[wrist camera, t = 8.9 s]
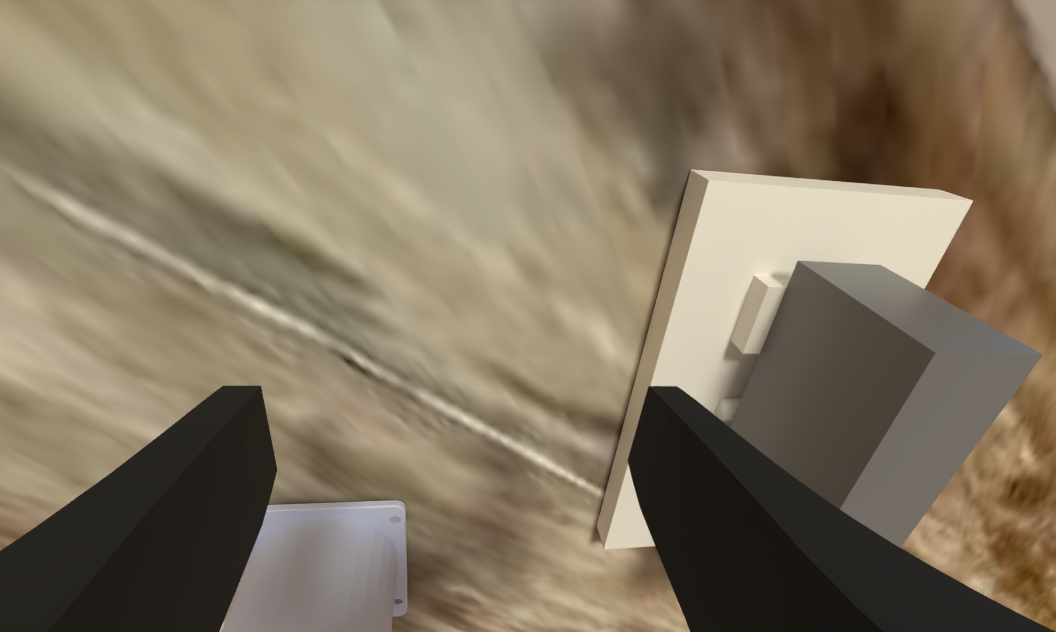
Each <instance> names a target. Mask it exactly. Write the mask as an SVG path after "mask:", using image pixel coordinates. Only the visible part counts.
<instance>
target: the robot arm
mask: <svg viewBox="0 0 1056 632" xmlns="http://www.w3.org/2000/svg"><path fill="white" fill-rule="evenodd" d="M627 461H628V465H629V469H630V473H631V477H632V481H633V485H634V488H635V492H636V495H637V499H638V502H639V506H640V509H641V512H642V514H643V517H644V519H645V522H646V524H647V527H648V529H649V532H650V534H651V537H652V539H653V541H654V544H655V546H656V549H657V551H658V554H659V556H660V558H661V561H662V563H663V566H664V568H665V571H666V573H667V575H668V578H669V580H670V583H671V585H672V587H673V590H674V592H675V595H676V597H677V599H678V602H679V604H680V607H681V609H682V612H683V614H684V616H685V619H686V621H687V624H688V627H689V629H690V632H1055V631H1053V630H1051V629H1049V628H1047V627H1045V626H1043V625H1041V624H1039V623H1037V622H1035V621H1033V620H1031V619H1028V618H1026V617H1024V616H1022V615H1020V614H1019V613H1017V612H1015V611H1013V610H1011V609H1009V608H1007V607H1005V606H1003V605H1001V604H999V603H998V602H996V601H994V600H992V599H990V598H988V597H986V596H984V595H982V594H980V593H979V592H977V591H975V590H973V589H971V588H969V587H968V586H966V585H964V584H962V583H961V582H959V581H957V580H955V579H953V578H952V577H950V576H948V575H946V574H944V573H943V572H941V571H939V570H937V569H936V568H934V567H932V566H930V565H928V564H927V563H925V562H923V561H921V560H920V559H918V558H916V557H915V556H913V555H911V554H910V553H908V552H906V551H905V550H903V549H901V548H899V547H898V546H896V545H895V544H893V543H891V542H890V541H888V540H887V539H885V538H883V537H882V536H880V535H879V534H877V533H876V532H874V531H872V530H871V529H869V528H868V527H866V526H865V525H863V524H861V523H860V522H858V521H857V520H855V519H853V518H852V517H850V516H849V515H847V514H846V513H844V512H843V511H841V510H840V509H838V508H837V507H835V506H834V505H833V504H831V503H830V502H828V501H827V500H825V499H824V498H823V497H821V496H820V495H818V494H817V493H816V492H814V491H813V490H811V489H810V488H809V487H807V486H806V485H804V484H803V483H802V482H800V481H799V480H797V479H796V478H795V477H793V476H792V475H791V474H789V473H788V472H787V471H785V470H784V469H783V468H781V467H780V466H779V465H777V464H776V463H775V462H773V461H772V460H771V459H769V458H768V457H767V456H765V455H764V454H763V453H762V452H760V451H759V450H758V449H757V448H755V447H754V446H753V445H751V444H750V443H749V442H748V441H746V440H745V439H744V438H743V437H741V436H740V435H739V434H738V433H736V432H735V431H734V430H733V429H731V428H730V427H729V426H728V425H726V424H725V423H724V422H723V421H721V420H720V419H719V418H718V417H716V416H715V415H714V414H713V413H711V412H710V411H709V410H708V409H706V408H705V407H704V406H703V405H701V404H700V403H699V402H698V401H696V400H695V399H694V398H693V397H691V396H690V395H689V394H687V393H686V392H685V391H683V390H682V389H680V388H679V387H677V386H648V390H647V393H646V397H645V400H644V404H643V407H642V411H641V414H640V418H639V421H638V425H637V429H636V432H635V436H634V439H633V443H632V446H631V450H630V453H629V457H628V460H627ZM276 472H277V466H276V461H275V456H274V451H273V446H272V441H271V435H270V430H269V425H268V420H267V415H266V410H265V405H264V399H263V394H262V389H261V386H222V387H221V388H220V389H218V390H217V391H216V392H214V393H213V394H212V395H210V396H209V397H208V398H206V399H205V400H204V401H203V402H201V403H200V404H199V405H197V406H196V407H195V408H194V409H192V410H191V411H190V412H189V413H187V414H186V415H185V416H184V417H182V418H181V419H180V420H179V421H177V422H176V423H175V424H174V425H172V426H171V427H170V428H169V429H167V430H166V431H165V432H164V433H162V434H161V435H160V436H158V437H157V438H156V439H155V440H153V441H152V442H151V443H149V444H148V445H147V446H145V447H144V448H143V449H142V450H140V451H139V452H138V453H136V454H135V455H134V456H133V457H131V458H130V459H129V460H127V461H126V462H125V463H123V464H122V465H121V466H120V467H118V468H117V469H116V470H114V471H113V472H112V473H110V474H109V475H108V476H106V477H105V478H104V479H102V480H101V481H99V482H98V483H97V484H95V485H94V486H92V487H91V488H90V489H88V490H87V491H85V492H84V493H83V494H81V495H80V496H78V497H77V498H76V499H74V500H73V501H71V502H70V503H69V504H67V505H66V506H64V507H63V508H62V509H60V510H59V511H58V512H56V513H55V514H53V515H52V516H51V517H49V518H48V519H46V520H45V521H44V522H42V523H41V524H39V525H38V526H37V527H35V528H34V529H32V530H31V531H29V532H28V533H26V534H25V535H23V536H22V537H20V538H19V539H18V540H16V541H15V542H13V543H12V544H10V545H9V546H7V547H5V548H4V549H2V550H1V551H0V632H219V631H220V628H221V626H222V623H223V621H224V618H225V616H226V613H227V611H228V609H229V606H230V604H231V601H232V599H233V596H234V594H235V592H236V589H237V587H238V584H239V582H240V579H241V577H242V579H241V582H240V584H239V587H238V590H237V592H236V595H235V598H234V600H233V603H232V606H231V608H230V611H229V614H228V616H227V619H226V622H225V624H224V627H223V630H222V632H391V631H392V621H393V617H398V616H402V615H404V614H406V613H407V609H408V592H407V537H406V505H405V504H404V503H403V502H402V501H399V500H387V501H360V502H334V503H307V504H281V505H268V503H269V500H270V496H271V492H272V488H273V484H274V480H275V476H276ZM395 516H397V517H395ZM244 570H245V571H244ZM243 572H244V574H243ZM242 575H243V576H242Z"/></svg>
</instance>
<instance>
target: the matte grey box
mask: <svg viewBox="0 0 1056 632" xmlns="http://www.w3.org/2000/svg"><path fill="white" fill-rule="evenodd" d="M1042 356H1043V354H1041V353H1039V352H1037V351H1035V350H1034V349H1032V348H1030V347H1028V346H1026V345H1025V344H1023V343H1021V342H1019V341H1017V340H1015V339H1014V338H1012V337H1010V336H1008V335H1006V334H1005V333H1003V332H1001V331H999V330H997V329H996V328H994V327H992V326H990V325H988V324H986V323H985V322H983V321H981V320H979V319H977V318H976V317H974V316H972V315H970V314H968V313H967V312H965V311H963V310H961V309H959V308H958V307H956V306H954V305H952V304H950V303H948V302H947V301H945V300H943V299H941V298H939V297H938V296H936V295H934V294H932V293H930V292H929V291H927V290H925V289H923V288H921V287H920V286H918V285H916V284H914V283H912V282H910V281H909V280H907V279H905V278H903V277H901V276H900V275H898V274H896V273H894V272H892V271H891V270H889V269H887V268H885V267H883V266H882V265H874V264H855V263H835V262H816V261H797V264H796V266H795V269H794V271H793V273H792V276H791V278H790V281H789V283H788V286H787V288H786V291H785V293H784V296H783V298H782V301H781V303H780V305H779V308H778V310H777V313H776V315H775V318H774V320H773V323H772V325H771V328H770V330H769V333H768V335H767V337H766V340H765V342H764V345H763V347H762V350H761V352H760V355H759V357H758V360H757V362H756V364H755V367H754V369H753V372H752V374H751V377H750V379H749V382H748V384H747V387H746V389H745V392H744V394H743V396H742V399H741V401H740V404H739V406H738V409H737V411H736V414H735V416H734V419H733V421H732V424H731V426H730V428H731V429H733V430H734V431H735V432H736V433H738V434H739V435H740V436H741V437H743V438H744V439H745V440H746V441H748V442H749V443H750V444H751V445H753V446H754V447H755V448H757V449H758V450H759V451H760V452H762V453H763V454H764V455H765V456H767V457H768V458H769V459H771V460H772V461H773V462H775V463H776V464H777V465H779V466H780V467H781V468H783V469H784V470H785V471H787V472H788V473H789V474H791V475H792V476H793V477H795V478H796V479H797V480H799V481H800V482H802V483H803V484H804V485H806V486H807V487H809V488H810V489H811V490H813V491H814V492H816V493H817V494H818V495H820V496H821V497H823V498H824V499H825V500H827V501H828V502H830V503H831V504H833V505H834V506H835V507H837V508H838V509H840V510H841V511H843V512H844V513H846V514H847V515H849V516H850V517H852V518H853V519H855V520H857V521H858V522H860V523H861V524H863V525H865V526H866V527H868V528H869V529H871V530H872V531H874V532H876V533H877V534H879V535H880V536H882V537H883V538H885V539H887V540H888V541H890V542H891V543H893V544H895V545H896V546H898V547H899V548H900V547H901V546H902V544H903V543H904V542H905V540H906V539H907V538H908V536H909V535H910V534H911V532H912V531H913V529H914V528H915V527H916V525H917V524H918V523H919V521H920V520H921V519H922V517H923V516H924V515H925V513H926V512H927V511H928V509H929V508H930V507H931V505H932V504H933V503H934V501H935V500H936V498H937V497H938V496H939V494H940V493H941V492H942V490H943V489H944V488H945V486H946V485H947V484H948V482H949V481H950V480H951V478H952V477H953V476H954V474H955V473H956V472H957V470H958V469H959V467H960V466H961V465H962V463H963V462H964V461H965V459H966V458H967V457H968V455H969V454H970V453H971V451H972V450H973V449H974V447H975V446H976V445H977V443H978V442H979V441H980V439H981V438H982V436H983V435H984V434H985V432H986V431H987V430H988V428H989V427H990V426H991V424H992V423H993V422H994V420H995V419H996V418H997V416H998V415H999V414H1000V412H1001V411H1002V410H1003V408H1004V407H1005V405H1006V404H1007V403H1008V401H1009V400H1010V399H1011V397H1012V396H1013V395H1014V393H1015V392H1016V391H1017V389H1018V388H1019V387H1020V385H1021V384H1022V383H1023V381H1024V380H1025V379H1026V377H1027V376H1028V374H1029V373H1030V372H1031V370H1032V369H1033V368H1034V366H1035V365H1036V364H1037V362H1038V361H1039V360H1040V358H1041V357H1042Z"/></svg>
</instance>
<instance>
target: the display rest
mask: <svg viewBox="0 0 1056 632" xmlns="http://www.w3.org/2000/svg"><path fill="white" fill-rule="evenodd" d="M972 202H973V201H972V200H969V199H966V198H963V197H960V196H957V195H954V194H951V193H948V192H945V191H942V190H936V189H923V188H911V187H899V186H887V185H874V184H862V183H850V182H838V181H825V180H813V179H801V178H789V177H776V176H764V175H752V174H739V173H727V172H715V171H703V170H691V171H690V175H689V178H688V182H687V186H686V190H685V194H684V197H683V201H682V205H681V209H680V212H679V216H678V220H677V224H676V228H675V231H674V235H673V239H672V243H671V246H670V250H669V254H668V258H667V262H666V265H665V269H664V273H663V277H662V281H661V284H660V288H659V292H658V296H657V299H656V303H655V307H654V311H653V315H652V318H651V322H650V326H649V330H648V334H647V337H646V341H645V345H644V349H643V352H642V356H641V360H640V364H639V368H638V371H637V375H636V379H635V383H634V386H633V390H632V394H631V398H630V402H629V405H628V409H627V413H626V417H625V421H624V424H623V428H622V432H621V436H620V439H619V443H618V447H617V451H616V455H615V458H614V462H613V466H612V470H611V474H610V477H609V481H608V485H607V489H606V492H605V496H604V500H603V504H602V508H601V511H600V515H599V519H598V523H597V528H598V531H599V535H600V538H601V541H602V545H603V548H604V549H616V548H633V547H650V546H655V544H654V541H653V539H652V537H651V534H650V532H649V529H648V527H647V524H646V522H645V519H644V517H643V514H642V512H641V509H640V506H639V502H638V499H637V495H636V492H635V488H634V485H633V481H632V477H631V473H630V469H629V465H628V461H627V460H628V457H629V453H630V450H631V446H632V443H633V439H634V436H635V432H636V429H637V425H638V421H639V418H640V414H641V411H642V407H643V404H644V400H645V397H646V393H647V390H648V386H677V387H679V388H680V389H682V390H683V391H685V392H686V393H687V394H689V395H690V396H691V397H693V398H694V399H695V400H696V401H698V402H699V403H700V404H701V405H703V406H704V407H705V408H706V409H708V410H709V411H710V412H711V413H713V414H714V415H715V416H716V417H718V418H719V419H720V420H721V421H723V422H724V423H725V424H726V425H728V426H729V427H730V426H731V424H732V421H733V419H734V416H735V414H736V411H737V409H738V406H739V404H740V401H741V399H742V396H743V394H744V392H745V389H746V387H747V384H748V382H749V379H750V377H751V374H752V372H753V369H754V367H755V364H756V362H757V360H758V357H759V355H760V352H761V350H762V347H763V345H764V342H765V340H766V337H767V335H768V333H769V330H770V328H771V325H772V323H773V320H774V318H775V315H776V313H777V310H778V308H779V305H780V303H781V301H782V298H783V296H784V293H785V291H786V288H787V286H788V283H789V281H790V278H791V276H792V273H793V271H794V269H795V266H796V264H797V261H816V262H835V263H855V264H874V265H882V266H883V267H885V268H887V269H889V270H891V271H892V272H894V273H896V274H898V275H900V276H901V277H903V278H905V279H907V280H909V281H910V282H912V283H914V284H916V285H918V286H920V287H921V288H923V289H925V287H926V285H927V283H928V281H929V280H930V278H931V276H932V274H933V272H934V271H935V269H936V267H937V265H938V263H939V262H940V260H941V258H942V256H943V254H944V253H945V251H946V249H947V247H948V245H949V244H950V242H951V240H952V238H953V236H954V235H955V233H956V231H957V229H958V227H959V226H960V224H961V222H962V220H963V218H964V217H965V215H966V213H967V211H968V209H969V208H970V206H971V204H972Z"/></svg>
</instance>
